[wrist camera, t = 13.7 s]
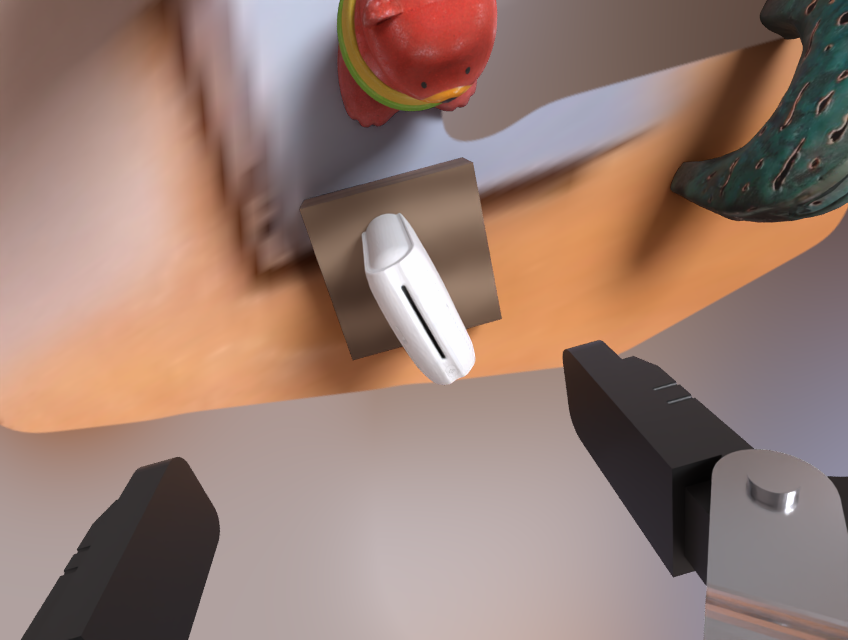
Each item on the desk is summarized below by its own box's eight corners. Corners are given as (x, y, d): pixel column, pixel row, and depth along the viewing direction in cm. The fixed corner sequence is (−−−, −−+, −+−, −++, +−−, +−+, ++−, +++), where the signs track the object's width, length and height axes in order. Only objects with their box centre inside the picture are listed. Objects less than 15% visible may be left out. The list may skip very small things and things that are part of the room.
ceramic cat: (780, -51, 38) (1172, -193, 20) (837, -14, 39) (1247, -112, 21) (649, 191, 44) (852, 251, 26) (703, 214, 46) (928, 285, 28)
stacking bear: (350, 132, 39) (347, 152, 23) (315, -15, 35) (282, -118, 19) (478, 105, 39) (564, 106, 23) (460, -43, 35) (550, -168, 19)
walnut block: (304, 199, 41) (299, 209, 37) (462, 157, 41) (472, 162, 37) (352, 340, 47) (352, 360, 43) (490, 302, 47) (501, 318, 43)
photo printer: (456, 305, 42) (493, 378, 31) (413, 328, 43) (434, 408, 31) (401, 202, 38) (421, 243, 27) (354, 228, 38) (354, 279, 27)
